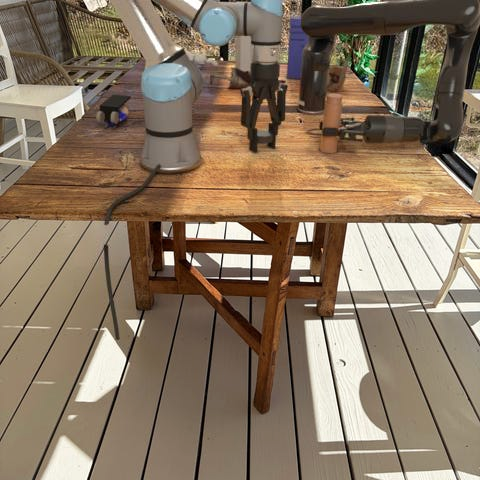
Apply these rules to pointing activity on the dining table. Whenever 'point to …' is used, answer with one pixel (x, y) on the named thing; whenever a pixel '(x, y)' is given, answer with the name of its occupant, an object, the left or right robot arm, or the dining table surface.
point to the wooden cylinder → (331, 121)
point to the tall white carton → (243, 52)
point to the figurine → (237, 78)
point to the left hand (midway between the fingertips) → (262, 148)
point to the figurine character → (113, 110)
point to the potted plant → (337, 76)
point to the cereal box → (295, 48)
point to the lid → (264, 136)
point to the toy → (200, 59)
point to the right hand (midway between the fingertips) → (321, 128)
